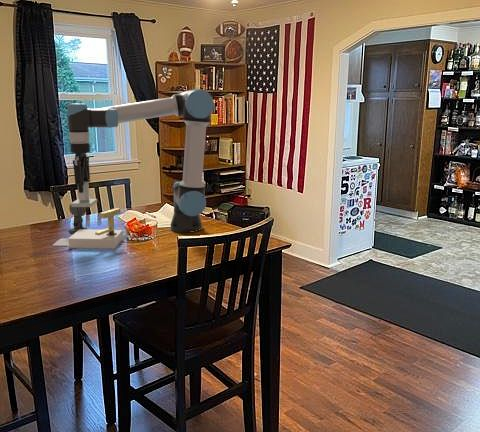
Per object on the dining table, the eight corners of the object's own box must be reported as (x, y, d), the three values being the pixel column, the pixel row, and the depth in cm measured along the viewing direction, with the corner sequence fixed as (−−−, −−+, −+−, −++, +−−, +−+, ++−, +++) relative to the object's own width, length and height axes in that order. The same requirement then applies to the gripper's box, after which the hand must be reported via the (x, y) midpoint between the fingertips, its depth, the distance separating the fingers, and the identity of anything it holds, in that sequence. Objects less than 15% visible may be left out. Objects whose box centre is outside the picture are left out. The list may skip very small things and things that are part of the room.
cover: (97, 202, 202) (95, 180, 200) (90, 207, 193) (89, 184, 191) (78, 202, 202) (76, 180, 200) (71, 206, 193) (69, 184, 191)
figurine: (86, 234, 214) (84, 202, 210) (64, 233, 214) (62, 201, 211) (92, 229, 222) (90, 198, 219) (71, 228, 223) (69, 197, 219)
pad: (78, 239, 207) (78, 238, 207) (70, 246, 197) (69, 245, 197) (61, 238, 207) (61, 238, 207) (52, 245, 197) (52, 245, 197)
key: (117, 230, 206) (116, 208, 203) (121, 231, 205) (120, 208, 202) (95, 238, 194) (93, 214, 191) (99, 239, 193) (98, 215, 190)
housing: (123, 238, 209) (122, 229, 208) (114, 248, 195) (114, 239, 194) (80, 237, 209) (79, 228, 208) (68, 247, 195) (68, 238, 194)
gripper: (77, 140, 200) (82, 194, 205) (62, 144, 183) (67, 203, 189) (95, 140, 200) (99, 194, 205) (82, 144, 183) (86, 203, 189)
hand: (84, 198), depth 197 cm, fingers closed on cover, 4 cm apart
